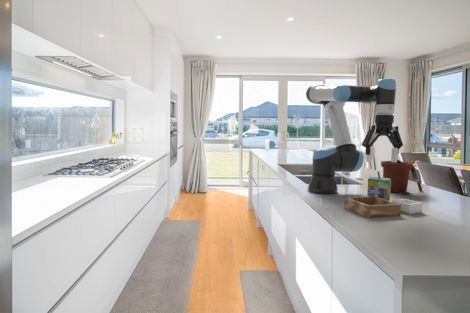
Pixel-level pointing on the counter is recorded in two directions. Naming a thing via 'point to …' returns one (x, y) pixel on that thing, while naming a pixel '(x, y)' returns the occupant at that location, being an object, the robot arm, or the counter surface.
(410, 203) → the white tub
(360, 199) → the crate
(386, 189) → the chalk box
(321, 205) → the counter surface
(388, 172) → the potted plant
